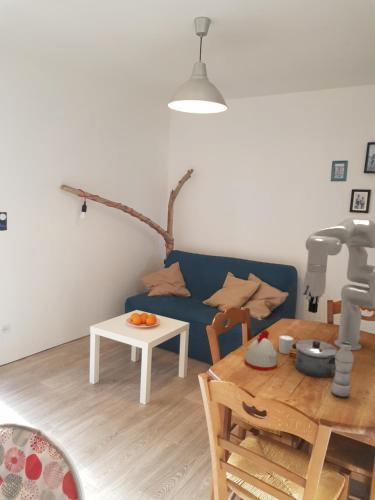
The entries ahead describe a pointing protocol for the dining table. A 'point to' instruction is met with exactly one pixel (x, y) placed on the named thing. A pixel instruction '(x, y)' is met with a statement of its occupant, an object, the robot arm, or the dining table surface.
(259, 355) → the kitchen timer
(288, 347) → the white cylinder
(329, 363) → the cooker pot
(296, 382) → the dining table surface
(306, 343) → the cooker lid
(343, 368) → the plastic bottle
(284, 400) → the dining table surface
